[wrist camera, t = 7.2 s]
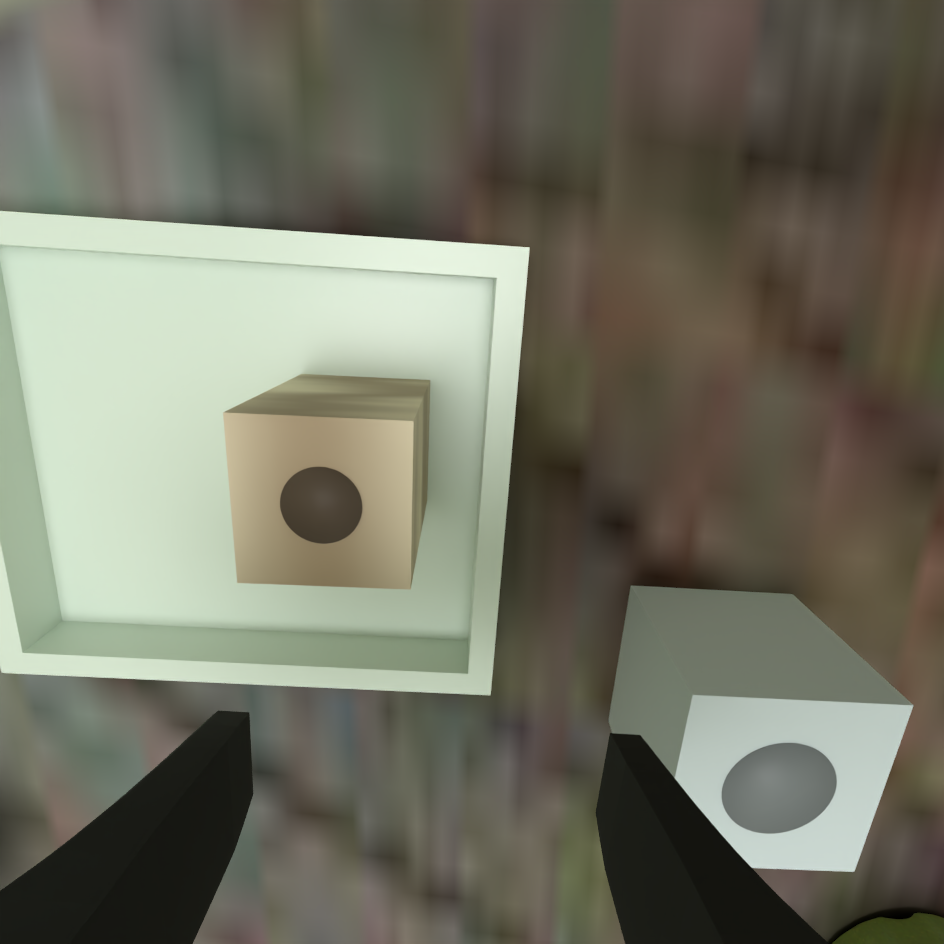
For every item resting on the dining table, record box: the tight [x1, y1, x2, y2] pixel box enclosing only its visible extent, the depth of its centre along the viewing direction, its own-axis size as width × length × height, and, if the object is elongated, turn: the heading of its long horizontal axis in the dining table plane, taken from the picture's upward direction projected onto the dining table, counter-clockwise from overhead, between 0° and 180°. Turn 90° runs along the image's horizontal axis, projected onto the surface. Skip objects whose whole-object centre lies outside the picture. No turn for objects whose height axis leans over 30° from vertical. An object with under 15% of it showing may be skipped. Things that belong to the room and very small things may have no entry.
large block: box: [608, 585, 913, 872], centre depth 19 cm, size 6×6×6 cm
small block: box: [223, 374, 430, 590], centre depth 15 cm, size 4×4×6 cm
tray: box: [0, 211, 530, 695], centre depth 18 cm, size 16×14×2 cm
